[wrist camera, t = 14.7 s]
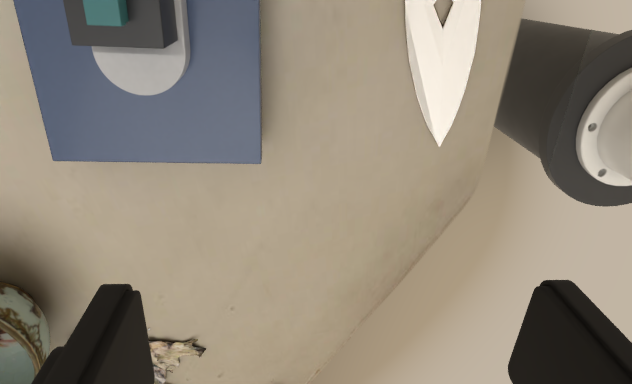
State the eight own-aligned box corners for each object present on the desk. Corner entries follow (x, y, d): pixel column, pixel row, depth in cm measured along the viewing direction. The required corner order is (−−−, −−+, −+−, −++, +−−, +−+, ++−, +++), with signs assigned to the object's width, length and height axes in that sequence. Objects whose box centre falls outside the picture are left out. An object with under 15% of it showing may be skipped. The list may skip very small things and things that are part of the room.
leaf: (53, 335, 45) (44, 350, 44) (196, 314, 46) (193, 328, 44) (90, 404, 51) (83, 419, 49) (219, 385, 51) (217, 399, 49)
